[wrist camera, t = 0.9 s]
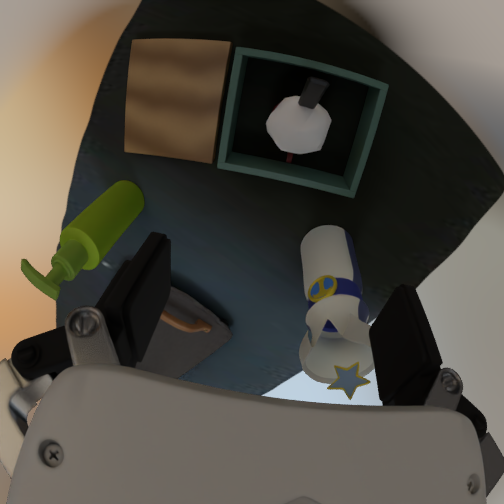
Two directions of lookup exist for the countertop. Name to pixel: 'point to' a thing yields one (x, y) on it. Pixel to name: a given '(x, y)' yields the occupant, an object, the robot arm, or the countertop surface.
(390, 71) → the countertop surface
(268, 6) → the countertop surface
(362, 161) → the crate
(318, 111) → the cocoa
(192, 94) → the cutting board
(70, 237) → the soap dispenser
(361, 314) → the water bottle
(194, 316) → the serving tray
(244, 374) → the countertop surface
